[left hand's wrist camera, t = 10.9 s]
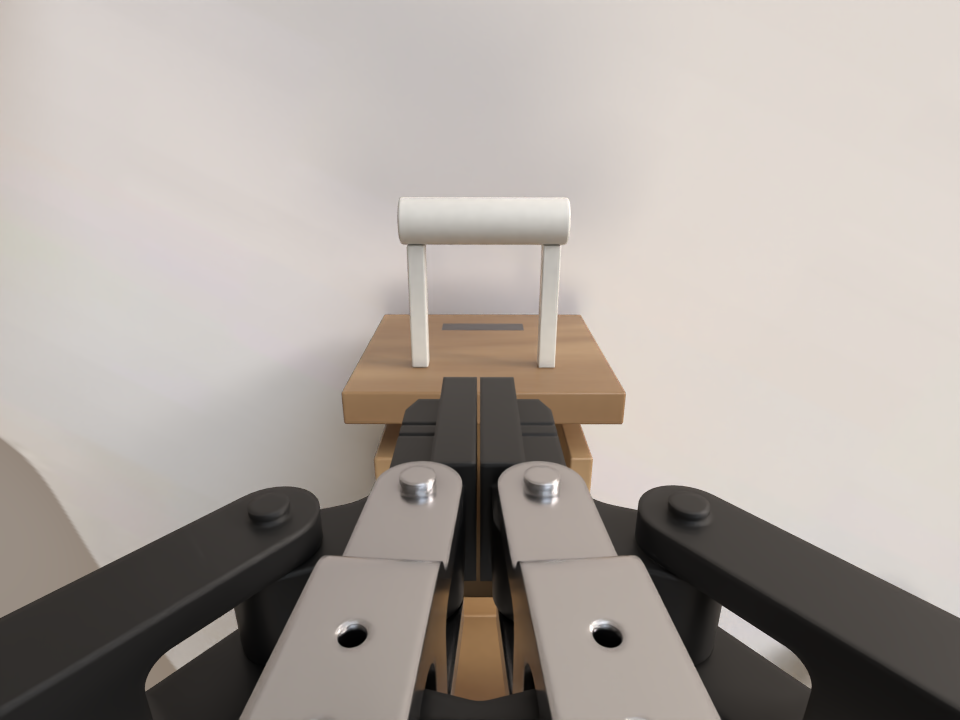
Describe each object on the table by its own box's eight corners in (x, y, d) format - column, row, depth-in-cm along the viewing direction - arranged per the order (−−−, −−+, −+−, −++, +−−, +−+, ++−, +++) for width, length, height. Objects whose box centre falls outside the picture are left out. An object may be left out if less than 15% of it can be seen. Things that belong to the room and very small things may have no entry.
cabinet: (385, 458, 31) (338, 615, 21) (578, 458, 31) (627, 615, 21) (401, 696, 38) (371, 905, 27) (561, 696, 38) (591, 905, 27)
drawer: (376, 183, 25) (322, 204, 16) (589, 183, 25) (646, 205, 16) (401, 591, 33) (374, 745, 25) (562, 591, 33) (590, 745, 25)
